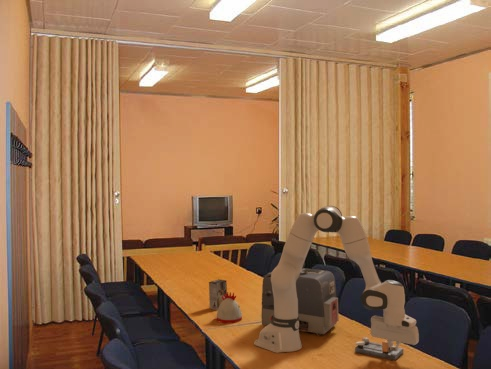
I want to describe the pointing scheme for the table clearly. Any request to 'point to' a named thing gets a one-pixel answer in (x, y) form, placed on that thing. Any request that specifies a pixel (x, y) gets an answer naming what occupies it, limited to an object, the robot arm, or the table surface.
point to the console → (378, 351)
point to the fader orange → (385, 346)
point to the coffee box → (217, 293)
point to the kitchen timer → (229, 310)
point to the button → (366, 340)
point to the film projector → (307, 300)
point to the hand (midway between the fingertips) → (394, 350)
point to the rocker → (360, 343)
